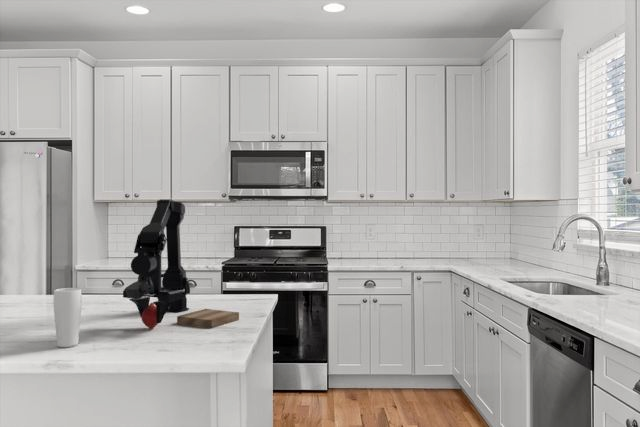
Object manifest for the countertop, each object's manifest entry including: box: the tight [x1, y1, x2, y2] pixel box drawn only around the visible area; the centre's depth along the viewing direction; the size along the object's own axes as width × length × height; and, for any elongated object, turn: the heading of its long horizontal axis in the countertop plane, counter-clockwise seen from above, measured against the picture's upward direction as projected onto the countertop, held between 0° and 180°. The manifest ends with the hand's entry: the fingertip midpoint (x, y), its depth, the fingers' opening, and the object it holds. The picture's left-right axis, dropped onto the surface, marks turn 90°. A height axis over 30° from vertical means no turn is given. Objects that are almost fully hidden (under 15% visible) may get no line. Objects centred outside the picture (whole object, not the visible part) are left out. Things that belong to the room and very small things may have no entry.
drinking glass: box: [52, 287, 83, 349], centre depth 137 cm, size 7×7×15 cm
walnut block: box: [176, 308, 240, 329], centre depth 167 cm, size 14×14×3 cm
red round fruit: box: [140, 301, 159, 330], centre depth 157 cm, size 6×6×8 cm
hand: (151, 322), depth 157 cm, fingers closed on red round fruit, 6 cm apart
